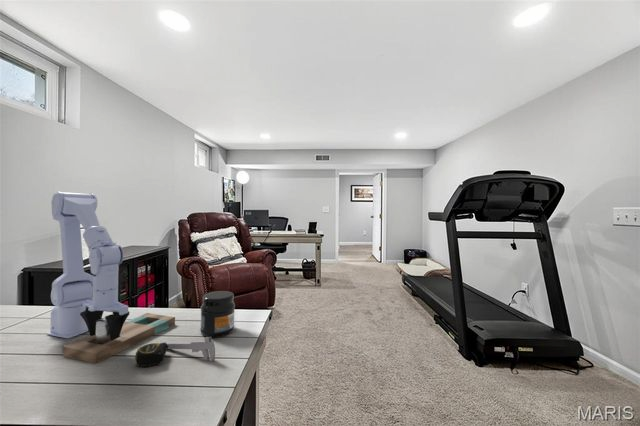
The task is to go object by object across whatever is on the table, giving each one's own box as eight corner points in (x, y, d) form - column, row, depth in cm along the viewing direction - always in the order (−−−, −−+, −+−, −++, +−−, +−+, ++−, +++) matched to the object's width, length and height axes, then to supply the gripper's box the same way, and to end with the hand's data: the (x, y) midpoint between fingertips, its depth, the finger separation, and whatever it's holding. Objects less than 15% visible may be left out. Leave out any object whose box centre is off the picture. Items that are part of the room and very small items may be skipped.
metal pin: (91, 350, 78) (92, 321, 78) (106, 343, 82) (106, 316, 81) (102, 352, 77) (103, 323, 77) (116, 345, 80) (117, 318, 80)
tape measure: (162, 367, 70) (163, 352, 70) (131, 371, 68) (131, 356, 68) (168, 354, 77) (168, 340, 77) (139, 357, 75) (140, 343, 75)
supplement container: (239, 333, 91) (240, 296, 91) (205, 341, 84) (206, 302, 84) (228, 322, 99) (228, 288, 99) (196, 329, 93) (197, 293, 93)
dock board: (62, 355, 74) (62, 346, 74) (147, 320, 99) (147, 312, 99) (96, 363, 71) (96, 353, 71) (174, 324, 96) (175, 317, 96)
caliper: (215, 361, 74) (215, 337, 74) (212, 363, 73) (212, 338, 73) (157, 346, 81) (158, 324, 81) (154, 348, 80) (154, 325, 80)
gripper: (71, 289, 77) (70, 338, 77) (111, 295, 73) (110, 346, 73) (97, 283, 84) (96, 328, 84) (135, 288, 80) (134, 335, 80)
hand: (104, 336), depth 79 cm, fingers open, 7 cm apart
